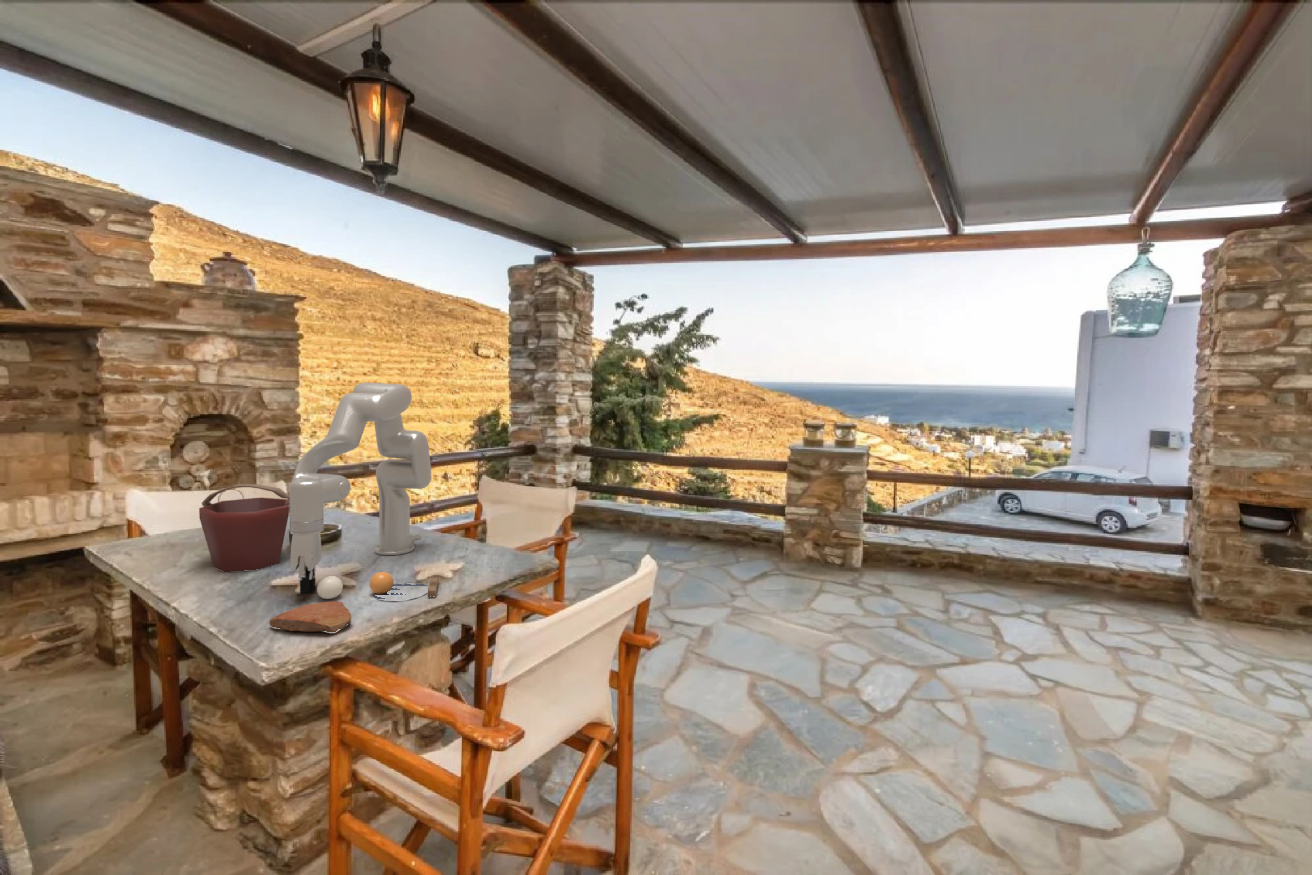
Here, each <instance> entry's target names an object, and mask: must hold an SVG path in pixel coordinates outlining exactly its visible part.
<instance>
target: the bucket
mask: <svg viewBox="0 0 1312 875" xmlns="http://www.w3.org/2000/svg"><path fill="white" fill-rule="evenodd" d="M234 488H235V489H236V488H252V489H253V488H254V489H259V490H263V491H269V492H272V493H274V494H275V495H276V496H278V497H279V498H274V497H273V498H272V497H253V498H251V497H250V498H241V499H231V500H230V499H229V500H221V501H218V502H214V503H211V501H212V500H213V499H215V497H216V496H218V495H219V494H221V493H223V492H226V491H228V490H230V489H231V490H232V489H234ZM201 506H202V507H199V508H198V509H199V510H198V511H199V512H198V515H199V522H200V524H201V528H202V531H203V534H204V538H205V541H206V545H207V548H208V552H209V555H210V558H211V562H212V566H213V568H214V567H215V568H214V569H216V568H217V569H216V570H218V569H220V570H222V571H224V572H223V573H225V572H227V573H232V572H231V571H243V572H245V571H244V570H256V569H259V570H262V569H265V567H266V568H268V566H269V567H272V566H271V565H273V566H276V565H279V564H280V561H281V560H280V559H281V556H282V550H283V547H284V546H283V545H284V540H285V535H286V530H287V524H288V520H289V517H290V502H289V493H287V492H285V491H284V490H282V488H279V487H275V486H270V485H264V484H256V483H250V484H249V483H241V484H233V485H231V486H227V487H226V488H225V487H224V488H222V489H220V490H217V491H215V492H212V493H210V494H209V495H207V497H205V499H203V501H202V502H201ZM261 568H262V569H261ZM220 570H219V571H220ZM222 571H221V572H222ZM256 571H257V570H256Z"/></svg>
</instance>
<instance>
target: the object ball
mask: <svg viewBox="0 0 1312 875" xmlns="http://www.w3.org/2000/svg"><path fill="white" fill-rule="evenodd" d="M394 579H395V578H394V577H393V575H392V574H390V573H389V572H386V571H380V572H377V573H375V574H374V575H372V576H371V578H370V580H369V588H370V590H371V591H372V592H373V593H374V594H375V593H376V594H384V593H387V592H388V591H390V590H391V588H392V587H393V584H395V582H394V581H395V580H394Z"/></svg>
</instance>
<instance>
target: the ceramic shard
mask: <svg viewBox="0 0 1312 875" xmlns="http://www.w3.org/2000/svg"><path fill="white" fill-rule="evenodd" d="M351 622H352V614H351V612H350V610H349V609H348V608H347V607H346V606H345V605H344V603H343V601H339V600H334V601H333V600H331V601H324V602H323V601H322V602H317V603H316V602H315V603H310V604H306V605H302V606H298V607H295V608H292V609H290V610H287V611H285V612H282V613H280V614H278V615H275V616H274V617H271V619H269V622H268V623H269V626H272V627H276V628H280V629H286V630H289V631H290V632H294V631H295V632H309V633H310V632H319V631H327V632H336V631H337V630H338V629H343V628H344V627H345V626H346V625H347V624H350V623H351ZM350 625H351V624H350ZM346 627H347V626H346ZM346 627H345V628H346ZM345 628H344V629H345ZM344 629H343V630H344ZM286 630H285V631H286Z"/></svg>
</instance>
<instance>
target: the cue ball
mask: <svg viewBox="0 0 1312 875" xmlns="http://www.w3.org/2000/svg"><path fill="white" fill-rule="evenodd" d="M343 587H344V585H343V581H342V580H341V579H340V577H338V576H334V575H328V576H325V577H323V578H322V579H320V580H319V582H318V583H317V586H316V593H317V595H318V596H319V597H320V598H322V599H324V600H332V599H335V598H337V597H338V596H339V595H340V594H341V593H342V591H343V589H344V588H343Z"/></svg>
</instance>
